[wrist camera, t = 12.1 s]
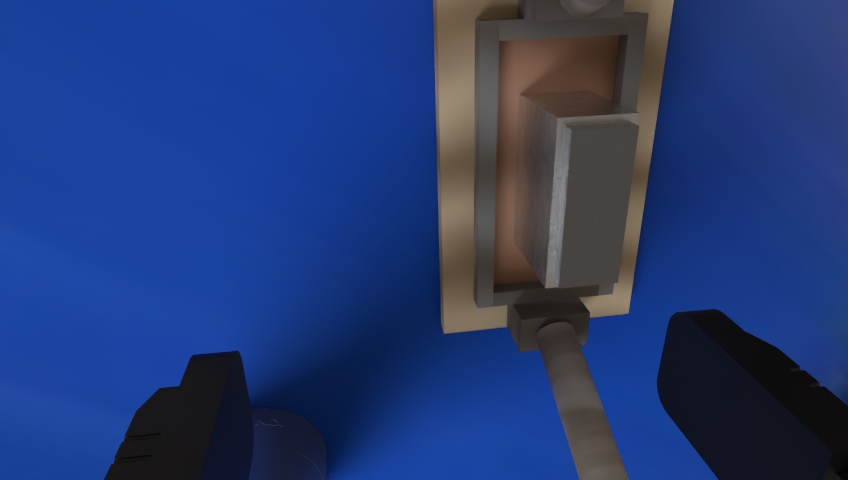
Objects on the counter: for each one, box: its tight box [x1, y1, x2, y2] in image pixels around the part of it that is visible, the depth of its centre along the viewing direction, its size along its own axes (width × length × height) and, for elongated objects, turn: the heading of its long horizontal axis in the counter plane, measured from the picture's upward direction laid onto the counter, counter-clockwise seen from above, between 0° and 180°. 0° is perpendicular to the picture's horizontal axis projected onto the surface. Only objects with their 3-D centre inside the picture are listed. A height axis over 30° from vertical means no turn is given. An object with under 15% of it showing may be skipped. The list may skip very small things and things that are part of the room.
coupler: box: [513, 90, 640, 289], centre depth 30 cm, size 4×9×7 cm, turn 2°
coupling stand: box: [433, 0, 674, 480], centre depth 28 cm, size 31×13×15 cm, turn 2°
